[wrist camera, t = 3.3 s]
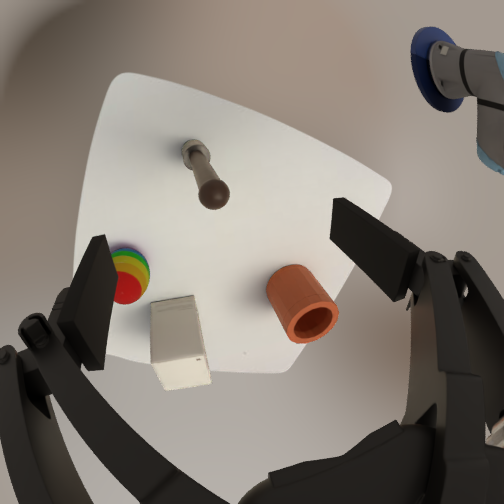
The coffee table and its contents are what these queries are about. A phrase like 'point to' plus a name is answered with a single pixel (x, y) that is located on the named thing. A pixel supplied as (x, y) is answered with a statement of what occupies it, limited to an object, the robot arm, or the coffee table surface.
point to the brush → (205, 175)
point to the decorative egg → (130, 275)
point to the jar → (301, 304)
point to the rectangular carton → (178, 344)
